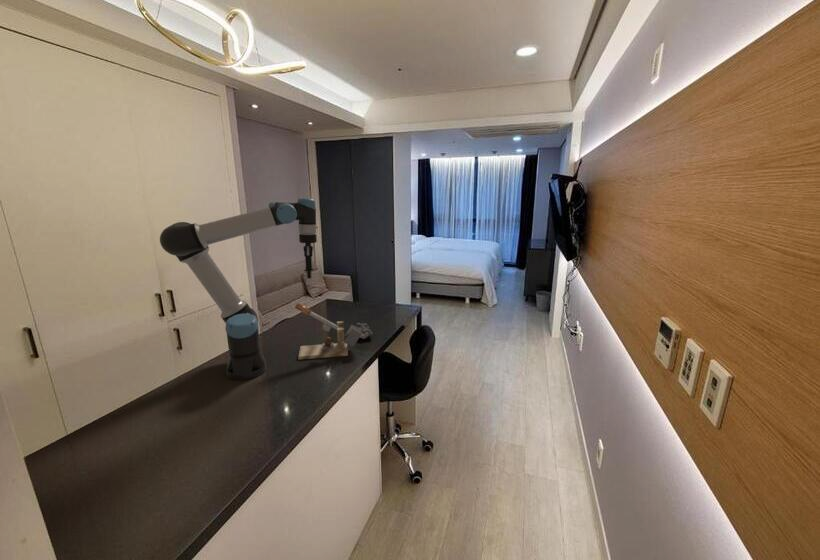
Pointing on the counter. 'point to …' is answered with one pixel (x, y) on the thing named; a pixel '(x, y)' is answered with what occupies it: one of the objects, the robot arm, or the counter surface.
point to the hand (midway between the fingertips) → (309, 284)
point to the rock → (364, 330)
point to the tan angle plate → (326, 347)
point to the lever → (349, 337)
